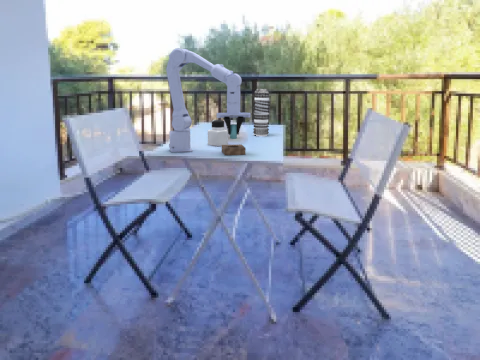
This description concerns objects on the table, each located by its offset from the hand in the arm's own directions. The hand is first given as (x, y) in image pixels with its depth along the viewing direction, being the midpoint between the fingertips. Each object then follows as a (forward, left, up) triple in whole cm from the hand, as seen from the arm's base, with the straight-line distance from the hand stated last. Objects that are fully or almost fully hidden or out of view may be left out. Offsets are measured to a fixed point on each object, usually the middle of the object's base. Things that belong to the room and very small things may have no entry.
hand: (233, 134), depth 203 cm
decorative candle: (+24, +51, -8) cm, 57 cm away
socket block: (0, 0, -8) cm, 8 cm away
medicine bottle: (-4, +23, -8) cm, 24 cm away
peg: (0, 0, -2) cm, 2 cm away
